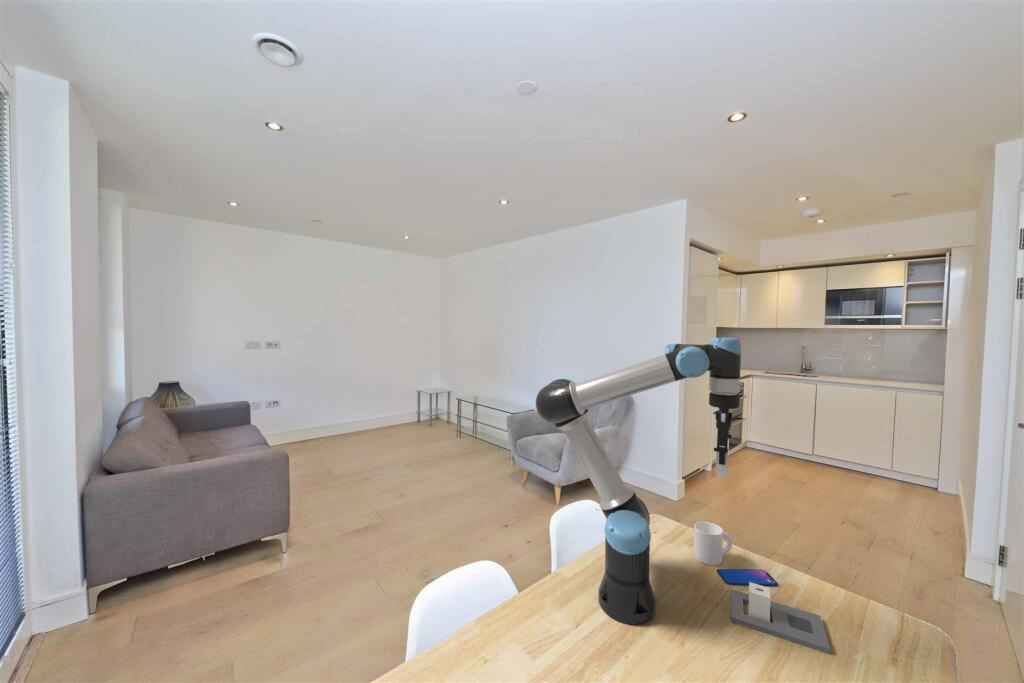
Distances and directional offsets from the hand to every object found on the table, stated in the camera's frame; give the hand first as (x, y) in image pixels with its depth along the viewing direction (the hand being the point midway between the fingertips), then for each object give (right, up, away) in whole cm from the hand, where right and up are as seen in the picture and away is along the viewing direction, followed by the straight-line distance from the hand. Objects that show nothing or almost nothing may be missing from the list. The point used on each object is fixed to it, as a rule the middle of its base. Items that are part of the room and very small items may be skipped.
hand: (722, 467), depth 108 cm
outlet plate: (+9, -37, -9) cm, 39 cm away
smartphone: (+12, -37, +8) cm, 39 cm away
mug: (+7, -36, +18) cm, 41 cm away
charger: (+6, -37, -7) cm, 38 cm away
